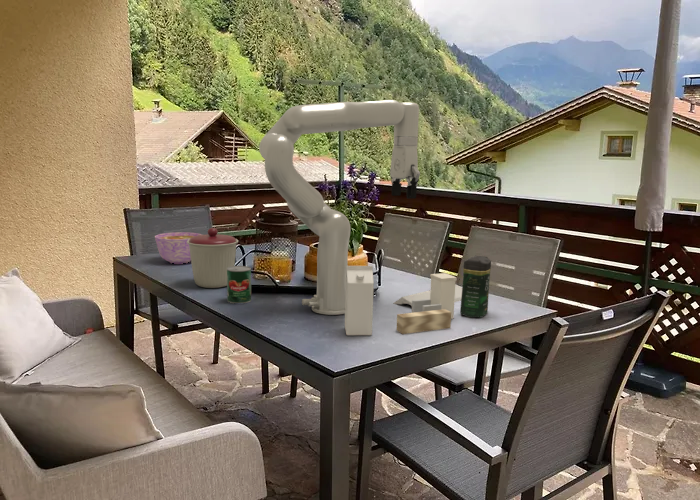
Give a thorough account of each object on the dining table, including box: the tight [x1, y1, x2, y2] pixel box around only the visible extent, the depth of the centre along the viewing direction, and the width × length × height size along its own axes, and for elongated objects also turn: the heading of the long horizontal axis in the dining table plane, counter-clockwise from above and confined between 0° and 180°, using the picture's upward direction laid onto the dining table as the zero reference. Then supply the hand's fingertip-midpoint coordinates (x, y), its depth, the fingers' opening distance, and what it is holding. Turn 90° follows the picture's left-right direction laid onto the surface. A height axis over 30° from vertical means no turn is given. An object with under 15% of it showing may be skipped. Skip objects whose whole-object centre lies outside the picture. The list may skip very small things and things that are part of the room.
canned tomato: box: [226, 265, 252, 304], centre depth 196 cm, size 8×8×11 cm
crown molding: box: [392, 283, 462, 307], centre depth 204 cm, size 29×12×4 cm, turn 134°
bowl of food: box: [154, 231, 203, 265], centre depth 254 cm, size 20×20×12 cm
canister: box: [187, 227, 239, 289], centre depth 215 cm, size 18×18×21 cm
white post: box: [411, 272, 458, 320], centre depth 182 cm, size 11×7×13 cm, turn 113°
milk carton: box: [344, 265, 375, 336], centre depth 166 cm, size 7×7×19 cm
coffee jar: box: [459, 255, 492, 318], centre depth 186 cm, size 10×8×19 cm
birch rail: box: [396, 309, 452, 335], centre depth 171 cm, size 16×4×5 cm, turn 114°
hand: (403, 196), depth 191 cm, fingers open, 9 cm apart
